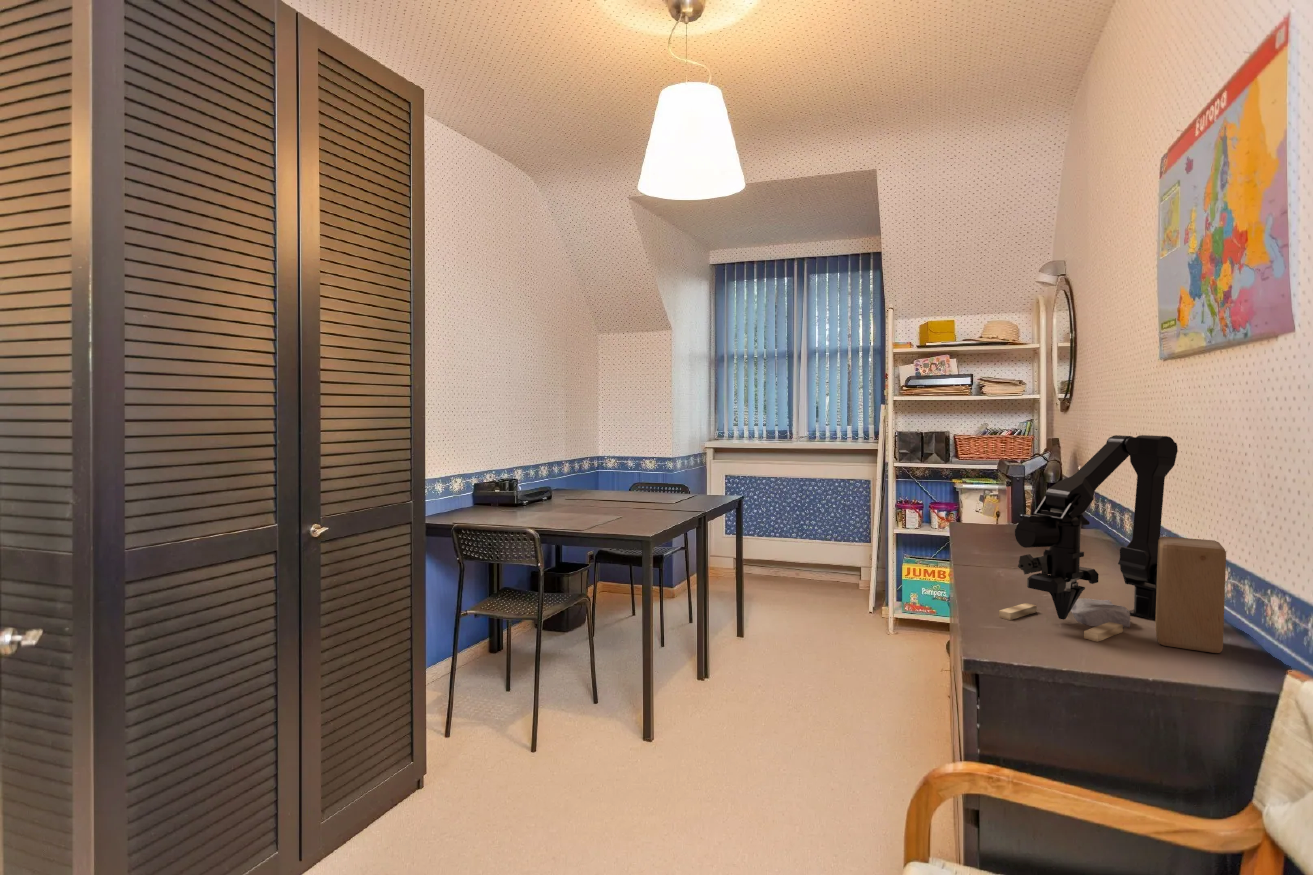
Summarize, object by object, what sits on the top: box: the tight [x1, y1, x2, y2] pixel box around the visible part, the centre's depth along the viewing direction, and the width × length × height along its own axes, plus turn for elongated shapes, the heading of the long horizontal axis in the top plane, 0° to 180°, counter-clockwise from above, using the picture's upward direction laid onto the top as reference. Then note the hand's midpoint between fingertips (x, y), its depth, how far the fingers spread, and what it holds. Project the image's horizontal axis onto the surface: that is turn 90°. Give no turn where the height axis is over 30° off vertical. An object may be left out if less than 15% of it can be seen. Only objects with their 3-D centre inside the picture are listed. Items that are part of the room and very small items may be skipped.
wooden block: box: [1154, 536, 1227, 654], centre depth 140 cm, size 10×10×20 cm
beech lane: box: [998, 602, 1124, 643], centre depth 153 cm, size 11×20×2 cm, turn 35°
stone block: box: [1070, 597, 1131, 628], centre depth 157 cm, size 12×5×10 cm
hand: (1062, 618), depth 154 cm, fingers closed
